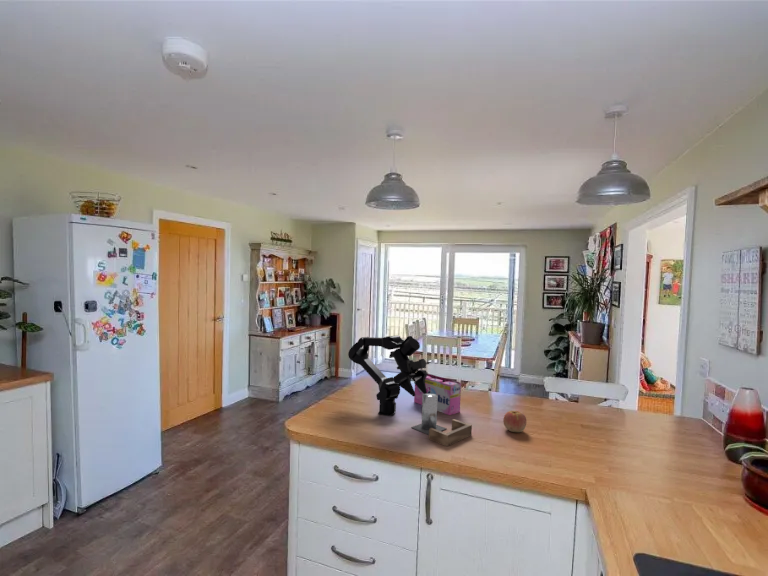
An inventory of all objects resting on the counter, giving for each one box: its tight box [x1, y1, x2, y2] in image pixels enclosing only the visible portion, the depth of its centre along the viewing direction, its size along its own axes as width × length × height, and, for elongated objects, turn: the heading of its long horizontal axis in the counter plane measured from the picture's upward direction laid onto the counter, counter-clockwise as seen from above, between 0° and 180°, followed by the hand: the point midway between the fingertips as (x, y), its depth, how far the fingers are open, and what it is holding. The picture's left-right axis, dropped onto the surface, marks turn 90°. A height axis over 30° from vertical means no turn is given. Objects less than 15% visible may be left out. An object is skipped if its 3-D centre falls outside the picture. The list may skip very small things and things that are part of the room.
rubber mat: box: [410, 423, 447, 436], centre depth 161 cm, size 10×10×1 cm
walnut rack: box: [428, 418, 473, 447], centre depth 154 cm, size 8×16×4 cm, turn 135°
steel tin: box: [420, 394, 438, 430], centre depth 161 cm, size 6×6×13 cm
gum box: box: [413, 373, 462, 416], centre depth 189 cm, size 24×8×14 cm, turn 41°
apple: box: [502, 410, 527, 433], centre depth 162 cm, size 9×9×8 cm
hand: (420, 394), depth 165 cm, fingers open, 9 cm apart
